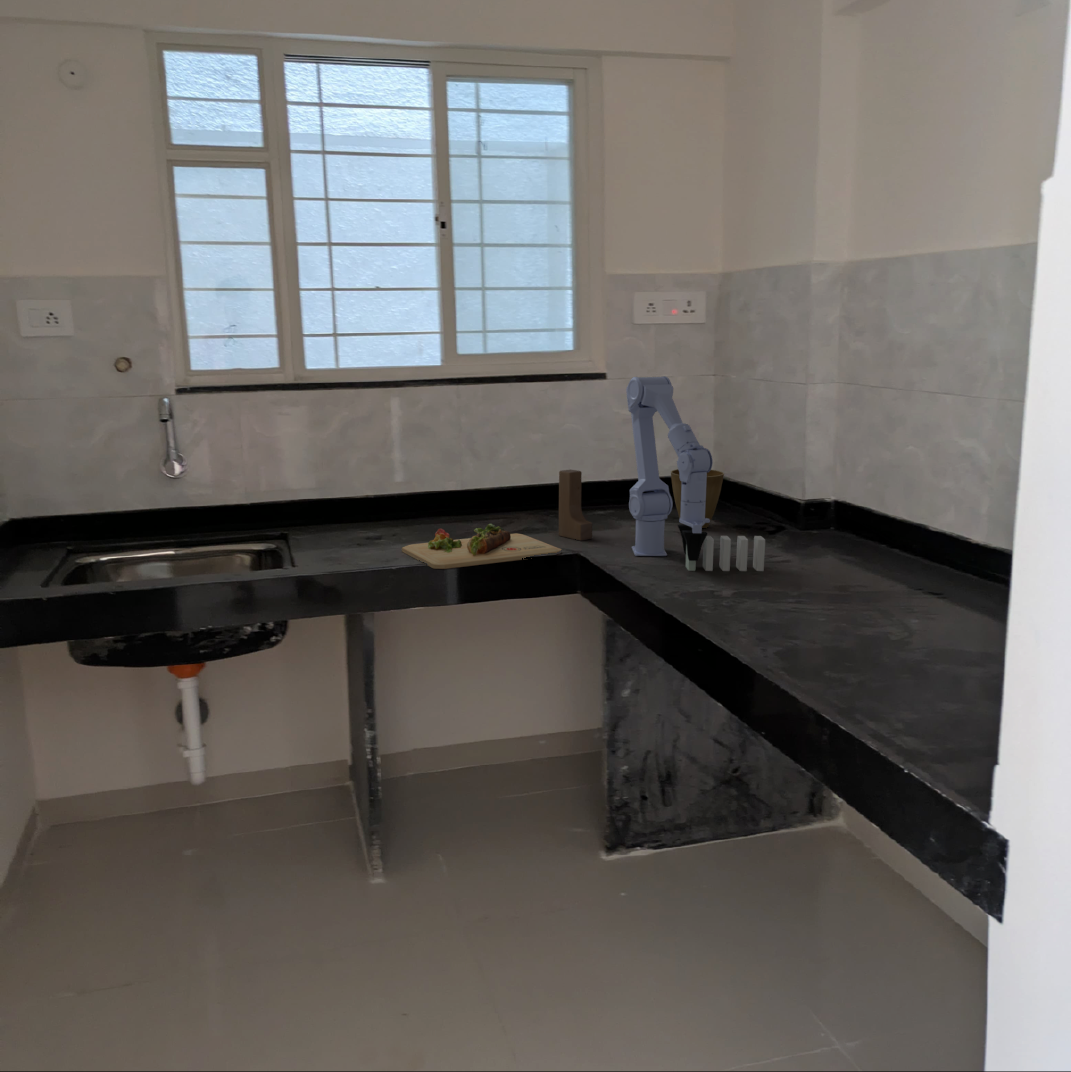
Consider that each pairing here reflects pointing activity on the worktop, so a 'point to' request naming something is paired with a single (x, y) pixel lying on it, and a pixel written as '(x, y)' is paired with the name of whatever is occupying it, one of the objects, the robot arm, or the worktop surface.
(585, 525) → the wooden block
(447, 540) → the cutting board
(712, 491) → the plant pot
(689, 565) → the domino
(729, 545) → the domino
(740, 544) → the domino
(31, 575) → the worktop surface
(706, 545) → the domino
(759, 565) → the domino
